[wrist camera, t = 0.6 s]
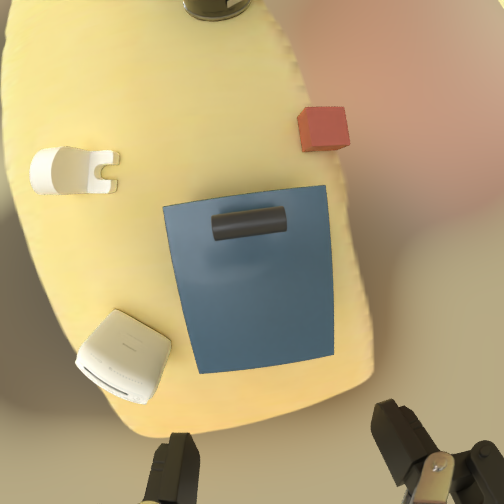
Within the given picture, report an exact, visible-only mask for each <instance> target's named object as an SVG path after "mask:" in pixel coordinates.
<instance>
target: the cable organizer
mask: <svg viewBox="0 0 504 504" xmlns="http://www.w3.org/2000/svg"><path fill="white" fill-rule="evenodd" d="M119 157H120V156H119V153H117V152H114V151H111V150H105V151H87V150H83V149H78V148H73V147H68V146H64V147H55V148H47V149H42V150H40V151H38V152H37V153H36V154H35V156H34V158H33V160H32V163H31V166H30V182H31V186H32V188H33V190H34V191H35V192H36V193H37V194H39V195H67V194H81V193H114V192H115V191H116V190H117V180H104V179H103V178H102V177H101V169H102V168H103V167H104V166H105V165H119Z"/></svg>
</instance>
